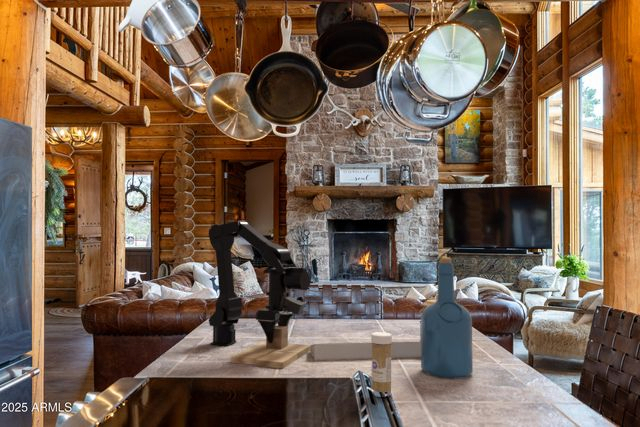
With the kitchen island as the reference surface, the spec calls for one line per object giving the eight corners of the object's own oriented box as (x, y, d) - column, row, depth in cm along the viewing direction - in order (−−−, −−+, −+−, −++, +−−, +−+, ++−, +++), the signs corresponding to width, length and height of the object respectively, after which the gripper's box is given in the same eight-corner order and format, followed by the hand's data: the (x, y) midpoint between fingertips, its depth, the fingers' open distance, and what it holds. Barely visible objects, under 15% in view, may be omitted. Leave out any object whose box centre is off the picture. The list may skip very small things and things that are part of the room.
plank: (230, 362, 128) (230, 356, 128) (261, 347, 147) (261, 342, 147) (256, 364, 126) (256, 358, 126) (284, 348, 145) (284, 343, 145)
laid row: (255, 365, 125) (256, 359, 125) (286, 348, 145) (286, 343, 146) (283, 368, 122) (283, 362, 122) (310, 350, 143) (310, 345, 143)
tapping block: (266, 348, 138) (266, 328, 139) (273, 344, 143) (273, 325, 144) (281, 349, 137) (281, 329, 137) (287, 345, 142) (287, 326, 142)
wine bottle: (416, 365, 126) (416, 256, 128) (465, 366, 126) (463, 257, 128) (426, 380, 113) (425, 258, 115) (480, 381, 112) (479, 258, 114)
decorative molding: (310, 362, 140) (315, 361, 130) (310, 345, 141) (314, 343, 132) (417, 359, 145) (429, 358, 135) (416, 343, 146) (427, 341, 137)
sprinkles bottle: (367, 395, 101) (367, 333, 102) (378, 390, 105) (378, 330, 105) (384, 400, 98) (384, 336, 99) (395, 394, 102) (395, 333, 102)
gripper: (290, 292, 130) (289, 348, 129) (312, 286, 148) (311, 335, 147) (255, 291, 133) (254, 345, 132) (280, 285, 151) (279, 333, 150)
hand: (277, 339), depth 140 cm, fingers open, 9 cm apart
